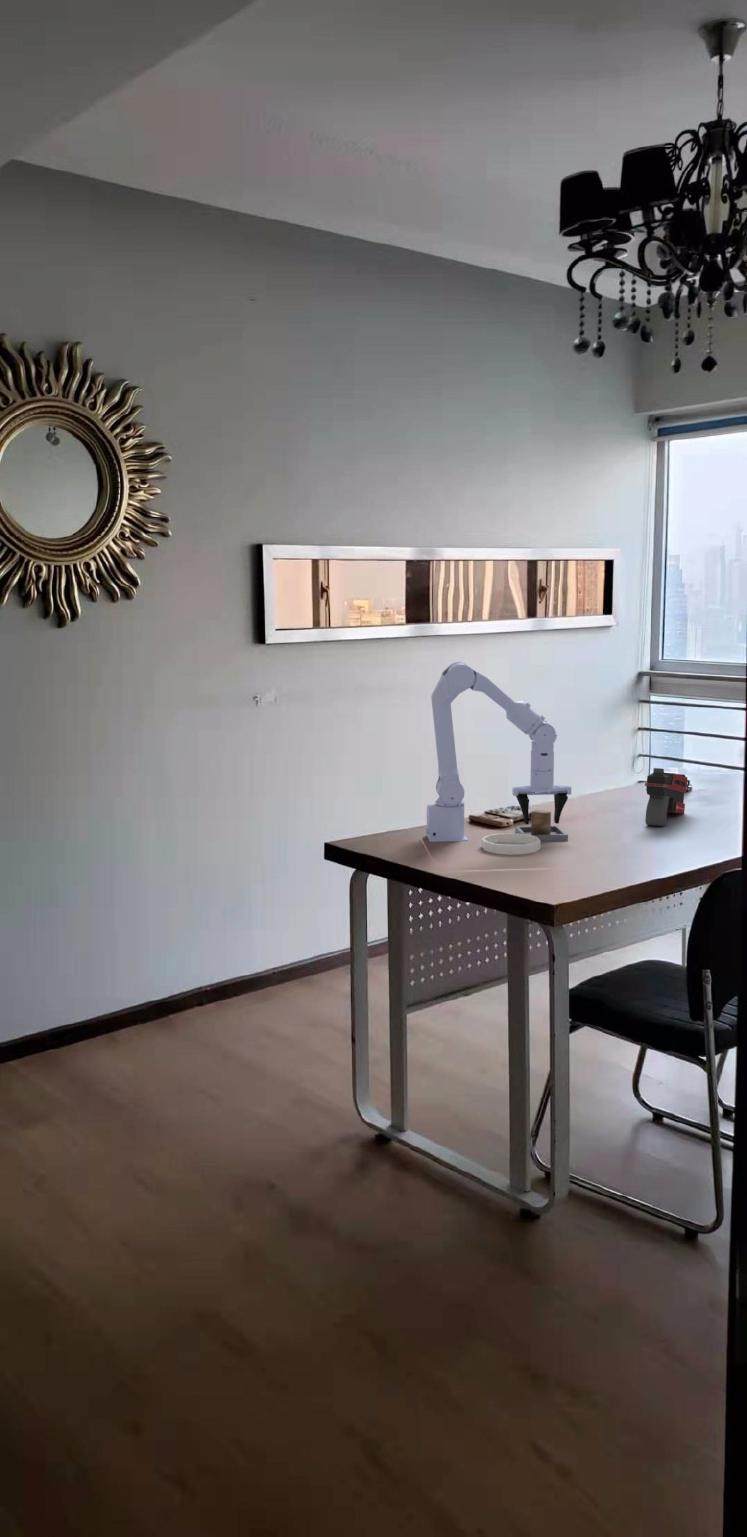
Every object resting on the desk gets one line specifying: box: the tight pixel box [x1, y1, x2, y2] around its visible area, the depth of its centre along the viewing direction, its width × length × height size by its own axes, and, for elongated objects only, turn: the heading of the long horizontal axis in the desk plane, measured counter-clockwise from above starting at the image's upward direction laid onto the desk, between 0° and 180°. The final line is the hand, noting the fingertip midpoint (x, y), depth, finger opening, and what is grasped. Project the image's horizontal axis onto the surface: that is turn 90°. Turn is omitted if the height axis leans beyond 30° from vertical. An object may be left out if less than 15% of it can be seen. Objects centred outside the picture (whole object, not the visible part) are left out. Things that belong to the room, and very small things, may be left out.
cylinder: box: [530, 809, 552, 835], centre depth 299 cm, size 5×5×6 cm
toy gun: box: [644, 767, 688, 827], centre depth 320 cm, size 5×24×15 cm, turn 152°
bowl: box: [481, 832, 541, 856], centre depth 287 cm, size 14×14×2 cm
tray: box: [514, 825, 569, 842], centre depth 300 cm, size 11×11×2 cm
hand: (541, 823), depth 299 cm, fingers open, 7 cm apart
